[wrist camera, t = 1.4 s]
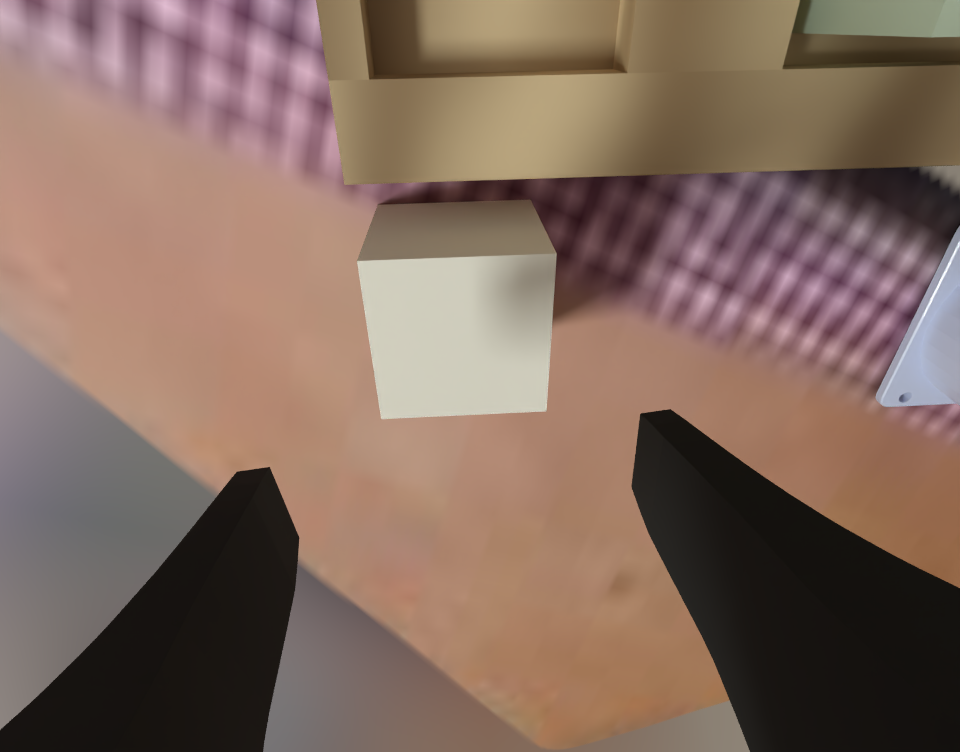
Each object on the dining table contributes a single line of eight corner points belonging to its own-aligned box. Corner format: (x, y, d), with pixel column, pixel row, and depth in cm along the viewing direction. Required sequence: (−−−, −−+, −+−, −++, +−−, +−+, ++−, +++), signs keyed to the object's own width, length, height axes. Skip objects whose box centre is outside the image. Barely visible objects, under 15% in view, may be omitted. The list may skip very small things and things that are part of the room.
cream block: (530, 198, 18) (556, 253, 13) (525, 331, 20) (546, 411, 16) (378, 203, 17) (357, 261, 13) (394, 337, 20) (381, 419, 16)
